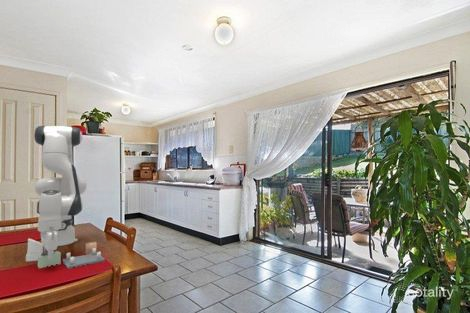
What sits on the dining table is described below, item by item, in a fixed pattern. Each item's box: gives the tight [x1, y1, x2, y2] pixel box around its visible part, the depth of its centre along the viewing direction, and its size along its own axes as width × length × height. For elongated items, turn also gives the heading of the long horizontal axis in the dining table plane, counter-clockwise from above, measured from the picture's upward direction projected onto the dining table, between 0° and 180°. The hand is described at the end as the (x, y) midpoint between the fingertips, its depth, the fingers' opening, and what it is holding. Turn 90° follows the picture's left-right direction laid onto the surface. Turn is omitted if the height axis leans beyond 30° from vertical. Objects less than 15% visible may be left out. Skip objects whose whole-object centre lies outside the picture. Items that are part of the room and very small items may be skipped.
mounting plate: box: [61, 248, 106, 270], centre depth 124 cm, size 13×15×4 cm
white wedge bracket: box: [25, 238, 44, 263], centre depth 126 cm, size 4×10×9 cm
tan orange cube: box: [85, 241, 98, 255], centre depth 137 cm, size 5×5×5 cm
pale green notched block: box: [37, 250, 62, 269], centre depth 120 cm, size 5×8×6 cm, turn 132°
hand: (48, 256), depth 119 cm, fingers open, 8 cm apart
